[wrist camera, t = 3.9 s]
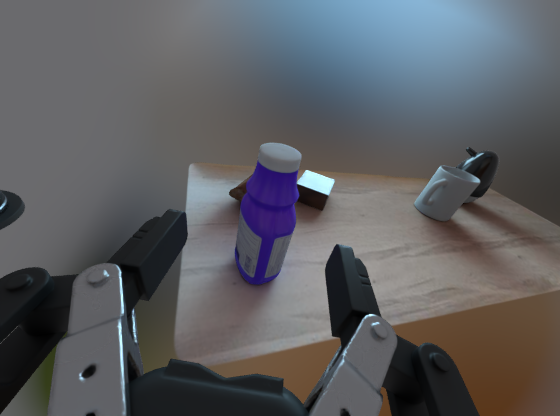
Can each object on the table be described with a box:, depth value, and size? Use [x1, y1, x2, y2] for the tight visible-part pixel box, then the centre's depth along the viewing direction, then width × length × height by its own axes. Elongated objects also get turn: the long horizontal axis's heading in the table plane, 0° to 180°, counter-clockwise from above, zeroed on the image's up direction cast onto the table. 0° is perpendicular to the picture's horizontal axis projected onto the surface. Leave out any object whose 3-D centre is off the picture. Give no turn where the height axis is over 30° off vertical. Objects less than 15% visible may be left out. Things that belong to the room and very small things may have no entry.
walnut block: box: [297, 170, 335, 211], centre depth 48 cm, size 7×8×4 cm
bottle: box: [235, 143, 301, 284], centre depth 25 cm, size 7×6×17 cm
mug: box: [415, 165, 480, 221], centre depth 51 cm, size 12×8×11 cm
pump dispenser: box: [456, 147, 499, 203], centre depth 61 cm, size 10×10×15 cm
